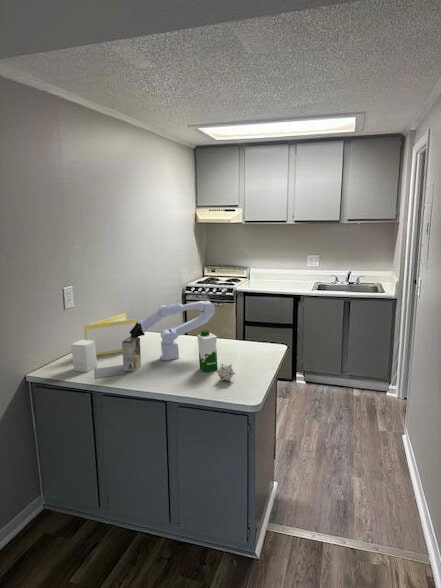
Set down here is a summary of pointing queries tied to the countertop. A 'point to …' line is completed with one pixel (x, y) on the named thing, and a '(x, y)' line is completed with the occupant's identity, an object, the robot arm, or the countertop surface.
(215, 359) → the milk carton
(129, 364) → the coffee box
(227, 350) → the countertop surface
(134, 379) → the countertop surface
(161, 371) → the countertop surface
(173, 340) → the robot arm
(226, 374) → the spiky ball ornament
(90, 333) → the yellow rectangular frame
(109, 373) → the mat
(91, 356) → the supplement box
